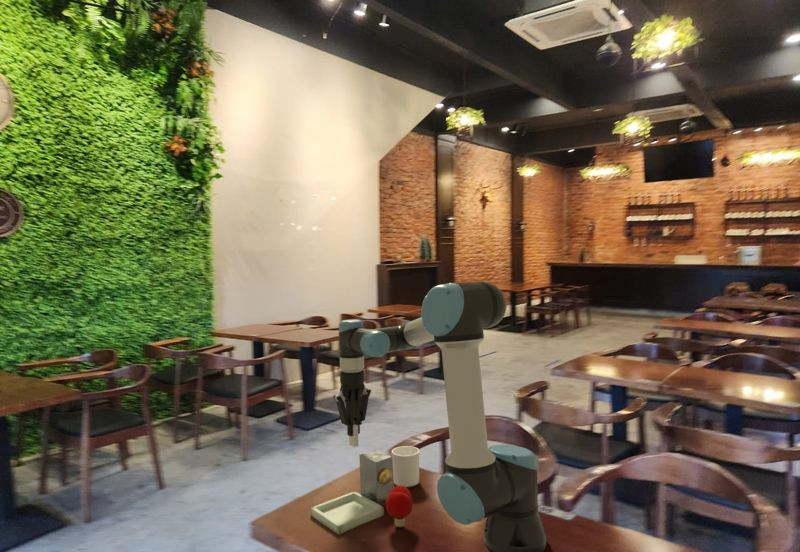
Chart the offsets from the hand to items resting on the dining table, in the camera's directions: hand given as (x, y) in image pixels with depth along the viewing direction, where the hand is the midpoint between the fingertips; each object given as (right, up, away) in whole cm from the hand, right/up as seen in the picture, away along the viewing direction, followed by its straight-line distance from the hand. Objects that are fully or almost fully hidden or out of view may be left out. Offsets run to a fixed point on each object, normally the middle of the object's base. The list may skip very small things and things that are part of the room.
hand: (353, 445), depth 159 cm
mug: (+17, -13, +4) cm, 22 cm away
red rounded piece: (+14, -14, -24) cm, 31 cm away
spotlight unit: (+7, -14, -7) cm, 17 cm away
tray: (0, -14, -17) cm, 22 cm away
